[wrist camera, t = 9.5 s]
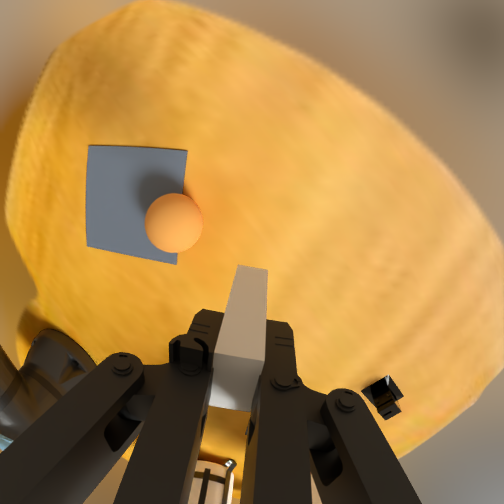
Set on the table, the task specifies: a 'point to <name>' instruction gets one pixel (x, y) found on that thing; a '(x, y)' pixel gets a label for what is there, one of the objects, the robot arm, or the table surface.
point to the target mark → (129, 196)
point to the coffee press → (212, 483)
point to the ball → (173, 223)
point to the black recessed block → (384, 397)
